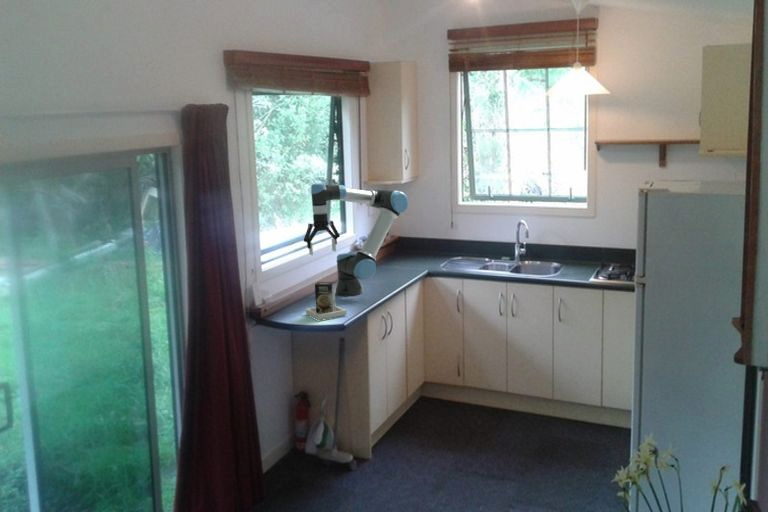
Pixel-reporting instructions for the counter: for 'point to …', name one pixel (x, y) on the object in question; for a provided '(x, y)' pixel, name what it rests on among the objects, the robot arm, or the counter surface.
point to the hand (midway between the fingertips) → (322, 252)
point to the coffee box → (325, 297)
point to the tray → (317, 316)
